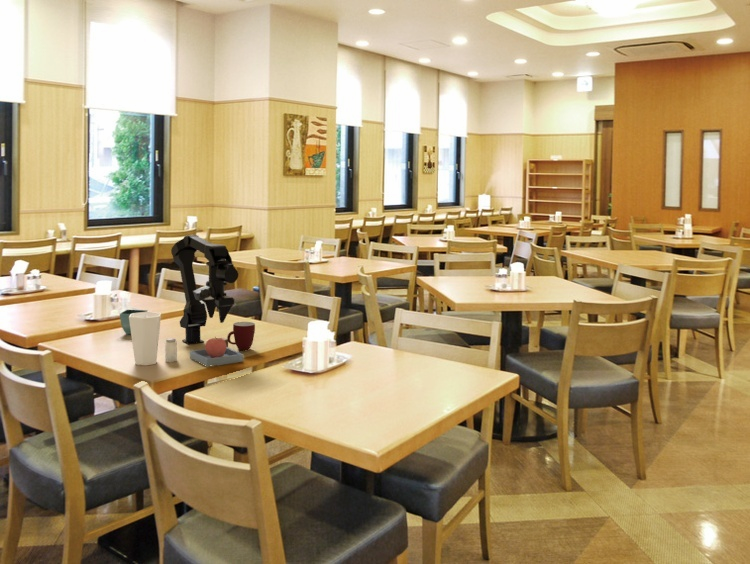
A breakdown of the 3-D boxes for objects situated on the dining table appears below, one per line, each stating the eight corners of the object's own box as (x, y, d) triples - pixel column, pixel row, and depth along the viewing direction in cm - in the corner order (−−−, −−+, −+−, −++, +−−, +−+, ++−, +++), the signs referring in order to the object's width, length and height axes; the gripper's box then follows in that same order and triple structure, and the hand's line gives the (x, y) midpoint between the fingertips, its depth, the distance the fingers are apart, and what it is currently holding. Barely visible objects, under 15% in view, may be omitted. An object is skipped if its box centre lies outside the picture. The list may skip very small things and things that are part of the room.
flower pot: (141, 336, 290) (140, 314, 288) (119, 335, 290) (119, 313, 288) (148, 331, 298) (148, 310, 297) (127, 330, 298) (126, 309, 297)
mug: (233, 354, 266) (233, 327, 264) (223, 349, 272) (223, 323, 270) (258, 350, 273) (258, 324, 271) (248, 346, 279) (248, 320, 277)
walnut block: (213, 349, 272) (213, 339, 272) (221, 347, 275) (221, 337, 275) (220, 351, 270) (220, 341, 269) (228, 349, 273) (228, 339, 272)
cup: (168, 361, 254) (167, 313, 251) (150, 368, 244) (149, 319, 241) (141, 357, 257) (140, 310, 255) (123, 364, 248) (122, 316, 245)
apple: (208, 361, 252) (208, 339, 251) (203, 356, 259) (202, 334, 258) (229, 359, 256) (229, 337, 255) (223, 354, 262) (223, 333, 261)
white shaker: (163, 360, 255) (163, 338, 253) (174, 358, 257) (174, 337, 256) (167, 362, 252) (167, 341, 250) (178, 361, 254) (178, 339, 253)
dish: (189, 358, 259) (189, 351, 258) (225, 353, 267) (225, 346, 267) (206, 367, 248) (206, 359, 247) (243, 361, 256) (243, 354, 256)
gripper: (185, 276, 268) (185, 317, 271) (206, 284, 253) (206, 327, 256) (213, 274, 275) (213, 314, 277) (235, 282, 260) (235, 324, 263)
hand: (216, 320), depth 268 cm, fingers open, 9 cm apart
